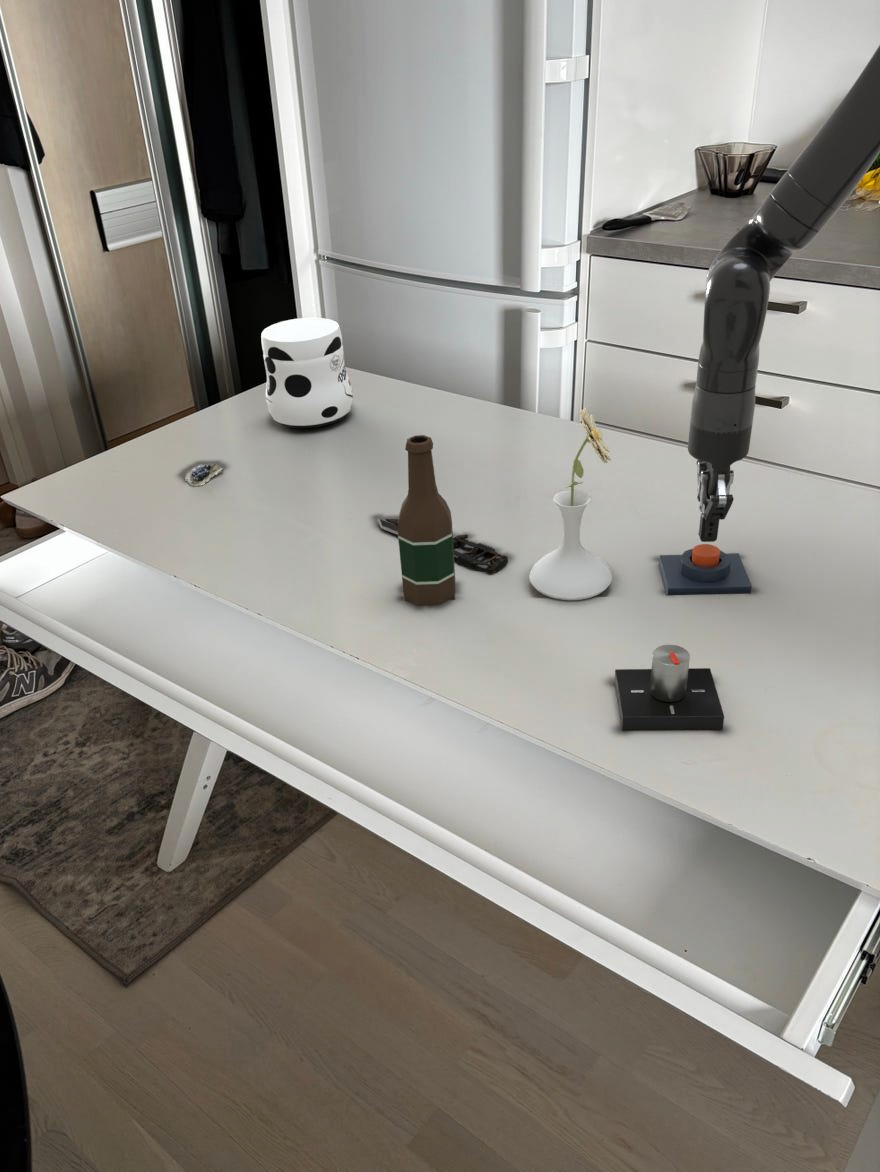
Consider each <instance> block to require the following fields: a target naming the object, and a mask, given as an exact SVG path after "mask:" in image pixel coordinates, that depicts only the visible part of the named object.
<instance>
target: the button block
mask: <svg viewBox="0 0 880 1172" xmlns="http://www.w3.org/2000/svg"><path fill="white" fill-rule="evenodd" d="M692 553H693V548H690V549H687V550H685V551H684V552H683V553H682V554H659V557H658V568H659V569H658V570H659V572H660V576H661V580H662V584H663V587H664V591H665V595H666V596H703V595H704V596H707V595H751V594H752V590H753V589H752V588H753V585H752V583H751V581H750V578H749V576H748V573H747V571H746V568H745V566H744V563H743V560H742V558H741V556H740V553H739V552H735V553H734V552H732V553H730V552H729V553H726V552H724V551H722V550H721V549H720V558H719V563H718V565H716V566H713V567H703V566H699V565H695V564H694V563H692Z"/></svg>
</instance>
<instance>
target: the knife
mask: <svg viewBox="0 0 880 1172" xmlns="http://www.w3.org/2000/svg"><path fill="white" fill-rule="evenodd" d="M398 520H399V518H385V519H384V520H383V519H381V518H378V519H377V523H378V525H379V527H380V529H382V530H385V531H387V532H390V533H392V534H394V535H397V536H398ZM468 538H469V535H468V534H461V535H460V534H459V535H456V536H453V547H454V563H457V565H459V566H461V567H464V568H466V569H468V570H473V571H475V572H476V571H477V572H478V571H479V572H485V573H487V574H494V573H498V572H500V571H501V570H502V569H503V568H504V567H505V566H506V564H508V562H509V559H508V558H509V557H508V556H507V555H504V554H503V555H502V554H501V553H498V552H497V550H496V549H495V548H493V547H492V546H489V545H487V544H484V543H481V542H478V543H477V542H474V541H472V540H471V541H470V540H468ZM466 545H467V546H466ZM469 546H470V547H469ZM455 548H459V549H462V550H464V551H465V552H463V553H462V552H459V551H457V550H455ZM466 551H467V552H466ZM480 558H481V559H480ZM479 565H480V566H479ZM483 566H487V567H483Z"/></svg>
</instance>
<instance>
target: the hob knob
mask: <svg viewBox="0 0 880 1172" xmlns="http://www.w3.org/2000/svg"><path fill="white" fill-rule="evenodd" d="M651 659H652V660H651V661H652V662H651V669H652V670H651V682H650V693H651V695H652V696H653V697H654V698H656V699H658V700H660V701H663V702H676V701H679V700H681V699H683V698H684V697H685V695H686V688H687V679H688V669H689V668H690V661H691V660H690V659H691V655H690V653H689V651H688V650H687V649H686V648H684V647H683V646H680V645H678V644H677V645H676V644H662V645H659V646H658V647H656V648H655V649H654V650H653V652H652V658H651Z"/></svg>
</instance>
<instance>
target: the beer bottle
mask: <svg viewBox="0 0 880 1172" xmlns="http://www.w3.org/2000/svg"><path fill="white" fill-rule="evenodd" d="M433 449H434V441H433V439H432V437H430V436H427V435H425V434H420V435H413V436H411V437H409V438H407V439H406V442H405V451H407V474H408V475H407V476H408V477H407V479H408V480H407V481H408V486H407V487H408V490H407V495H406V497H405V498H404V500H402V503H401V507H400V510H399V515H398V519H399V520H398V525H397V526H398V535H397V537H398V548H399V549H398V550H399V559H400V572H401V581H402V582H401V583H402V593H403V598H404V602H410V603H412V604H414V605H416V606H418V607H423V606H424V607H428V606H429V607H430V606H441V605H442V604H445V603H447V602H448V601H455V600H456V567H455V565H456V564H455V561H454V557H455V555H454V550H455V548H454V547H453V538H454V532H453V529H454V528H453V520H452V511H451V509H450V507H449V505H448V503H447V500H446V499H445V498H443V496H442V495H441V494H440V493H439V490H438V487H437V482H436V475H435V468H434V459H433V452H432V450H433Z"/></svg>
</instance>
